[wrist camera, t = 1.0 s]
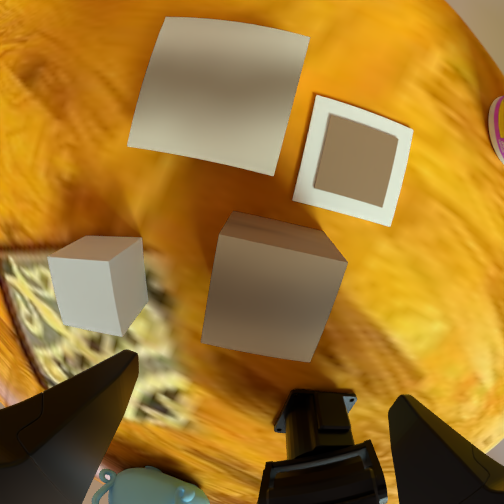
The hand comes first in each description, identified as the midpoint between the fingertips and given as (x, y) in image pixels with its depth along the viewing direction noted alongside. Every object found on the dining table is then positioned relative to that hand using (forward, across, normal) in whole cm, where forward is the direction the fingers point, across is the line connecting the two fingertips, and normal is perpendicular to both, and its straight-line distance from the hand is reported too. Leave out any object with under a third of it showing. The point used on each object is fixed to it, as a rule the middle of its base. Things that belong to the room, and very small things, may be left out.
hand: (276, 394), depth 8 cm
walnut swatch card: (+12, -4, -8) cm, 15 cm away
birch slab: (+12, +5, -10) cm, 16 cm away
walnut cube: (+12, 0, 0) cm, 12 cm away
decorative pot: (+12, +7, +40) cm, 42 cm away
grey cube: (+12, +11, +3) cm, 16 cm away
